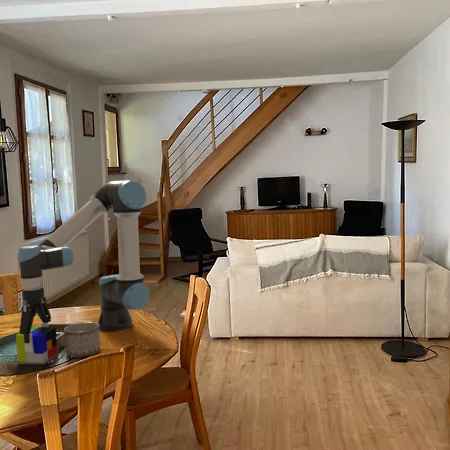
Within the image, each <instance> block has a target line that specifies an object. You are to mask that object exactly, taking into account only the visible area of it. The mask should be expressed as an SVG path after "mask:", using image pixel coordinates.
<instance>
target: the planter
mask: <svg viewBox="0 0 450 450" xmlns="http://www.w3.org/2000/svg"><path fill="white" fill-rule="evenodd" d="M75 323H76V322H75ZM64 335H65V345H64V346H65V347H64V348H65V354H66V355H67V356H68V357H73V358H81V357H82V358H84V357H88V356H92V355H94V354H97V353H99V352H100V350H101V341H100V339H101V338H100V330H99V324H98V322H94V321H93V322H92V321H86V322H84V321H83V322H77V323H76V324H72V325H69V326H67V327H65V328H64Z"/></svg>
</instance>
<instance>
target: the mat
mask: <svg viewBox="0 0 450 450" xmlns="http://www.w3.org/2000/svg"><path fill="white" fill-rule="evenodd" d="M57 355H58V353H57V354H55V355H54V356H52V357H51V358H49V359H48V360H47V361H45V362H44V363H34V362H18V365H45V364H47V363H49V362H50V361H51V360H52V359H53V358H54V357H56V356H57Z"/></svg>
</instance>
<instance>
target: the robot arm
mask: <svg viewBox="0 0 450 450" xmlns="http://www.w3.org/2000/svg"><path fill="white" fill-rule="evenodd" d="M146 200H147V193H146V189H145V187H144V186H143V185H142V184H141V183H140V182H138V181H136V180H130V179H126V180H111V181H109V182H106V183H105V184H104V185H102V186H101V187H100V188H99V189H97V190H96V191H95V192H94V193H93V194H92V195H91V196H90V197H89V198H88V202H87V203H85V204H84V205H83V206H82V207H80V208H79V209H78V211H76V212H75V213H73V215H71V216H70V217H69V218H68V219H67V220H65V222H63V224H61V225H60V226H59V227H58V228H57V229H55V231H53V232H51V234H50V235H49V236H48V237H46V238H45V239H44V240H43V241H42V242H40V243H39V244H34V245H26V246H22V247H20V248H18V264H19V265H18V266H19V273H20V284H21V289H22V290H21V296H22V300H23V301H25V302H26V304H25V305H22V306H21V314H20V315H21V317H20V325H19V331H18V334H23V335H24V344H25V352H33V341H32V333H30V332H31V328H32V327H33V322H34V318H35V317H36V315H37V316H38V318H39V320H40V321H41V322H40V327H49V325H48V324H49V323H51V322H52V316H51V313H50V309H49V306H48V304H47V297H45V288H44V278H43V271H46V270H52V269H58V268H65V267H69V266H71V265H72V264H73V262H74V252H73V250H72V248H70V247H69V246H68V245H69V244H70V243H72V241H73V240H75V239H76V238H77V237H78V236H79V235H81V233H82V232H84V230H86V229H87V228H88V227H89V226H90V225H92V223H93V222H95V221H96V219H98V218H99V217H100V216H101V215H105V214H107V213H108V212H110V211H111V210H112V213H113V215H114V216H115V217H116V218H117V219H116V220H117V225H116V226H117V244H118V245H117V246H118V251H117V252H118V270H119V271H118V274H111V275H105V276H102V277H100V279H99V282H98V283H99V284H98V287H99V298H100V299H99V301H100V313H99V317H98V321H97V324H99V331H104V332H115V331H123V330H126V329H129V328H131V327H132V326H133V317H132V316H131V312H130V310H132V311H137V310H140V309H142V308H143V307H144V306H145V305H146V304H147V302H148V301H149V298H150V289H149V287H148V286H147V284H146V283H145V280H144V279H145V278H144V277H145V276H144V274H142V273H141V267H140V238H139V235H140V234H139V216H140V215H141V213H142V207H143V206H144V204H145V203H146Z"/></svg>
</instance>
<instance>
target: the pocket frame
mask: <svg viewBox="0 0 450 450" xmlns="http://www.w3.org/2000/svg"><path fill="white" fill-rule="evenodd" d="M72 324H76V322H75V323H71V322H70V323H48V325H49V327H56V332H62V334H60V335H56V340H57V351H59V350H60V349H62V347H64V346H65V335H64V328H65V327H67V326H69V325H72Z"/></svg>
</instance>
